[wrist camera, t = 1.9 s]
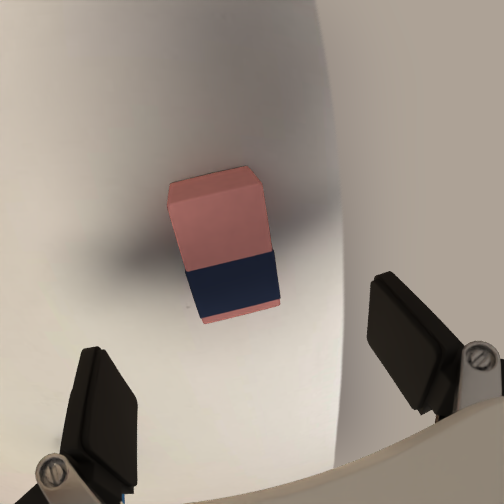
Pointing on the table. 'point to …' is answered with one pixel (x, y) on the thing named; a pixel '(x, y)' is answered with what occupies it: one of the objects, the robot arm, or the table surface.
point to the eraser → (225, 243)
